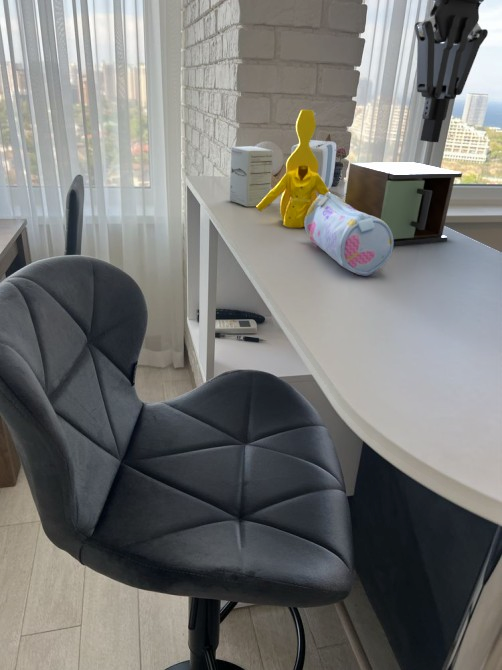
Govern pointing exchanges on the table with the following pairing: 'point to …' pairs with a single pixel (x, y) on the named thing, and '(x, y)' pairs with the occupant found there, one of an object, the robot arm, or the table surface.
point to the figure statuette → (298, 177)
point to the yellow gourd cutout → (323, 159)
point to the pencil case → (349, 234)
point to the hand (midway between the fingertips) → (429, 141)
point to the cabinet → (372, 178)
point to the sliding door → (405, 207)
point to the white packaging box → (250, 174)
